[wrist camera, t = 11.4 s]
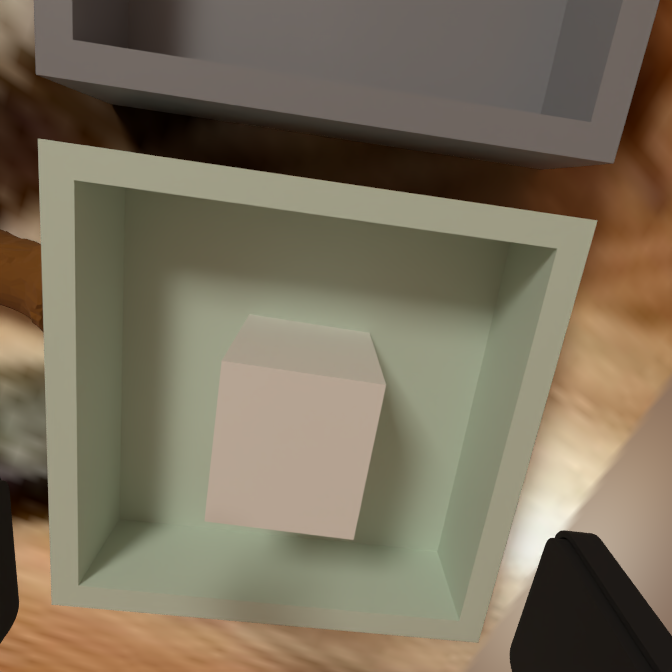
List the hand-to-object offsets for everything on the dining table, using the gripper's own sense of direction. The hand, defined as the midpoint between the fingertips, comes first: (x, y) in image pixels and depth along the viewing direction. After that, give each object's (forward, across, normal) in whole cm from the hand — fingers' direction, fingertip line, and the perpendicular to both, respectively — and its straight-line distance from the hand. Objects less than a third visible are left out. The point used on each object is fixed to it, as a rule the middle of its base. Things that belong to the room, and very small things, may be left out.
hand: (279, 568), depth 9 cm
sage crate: (+11, 0, +1) cm, 11 cm away
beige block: (+10, 0, +1) cm, 10 cm away
